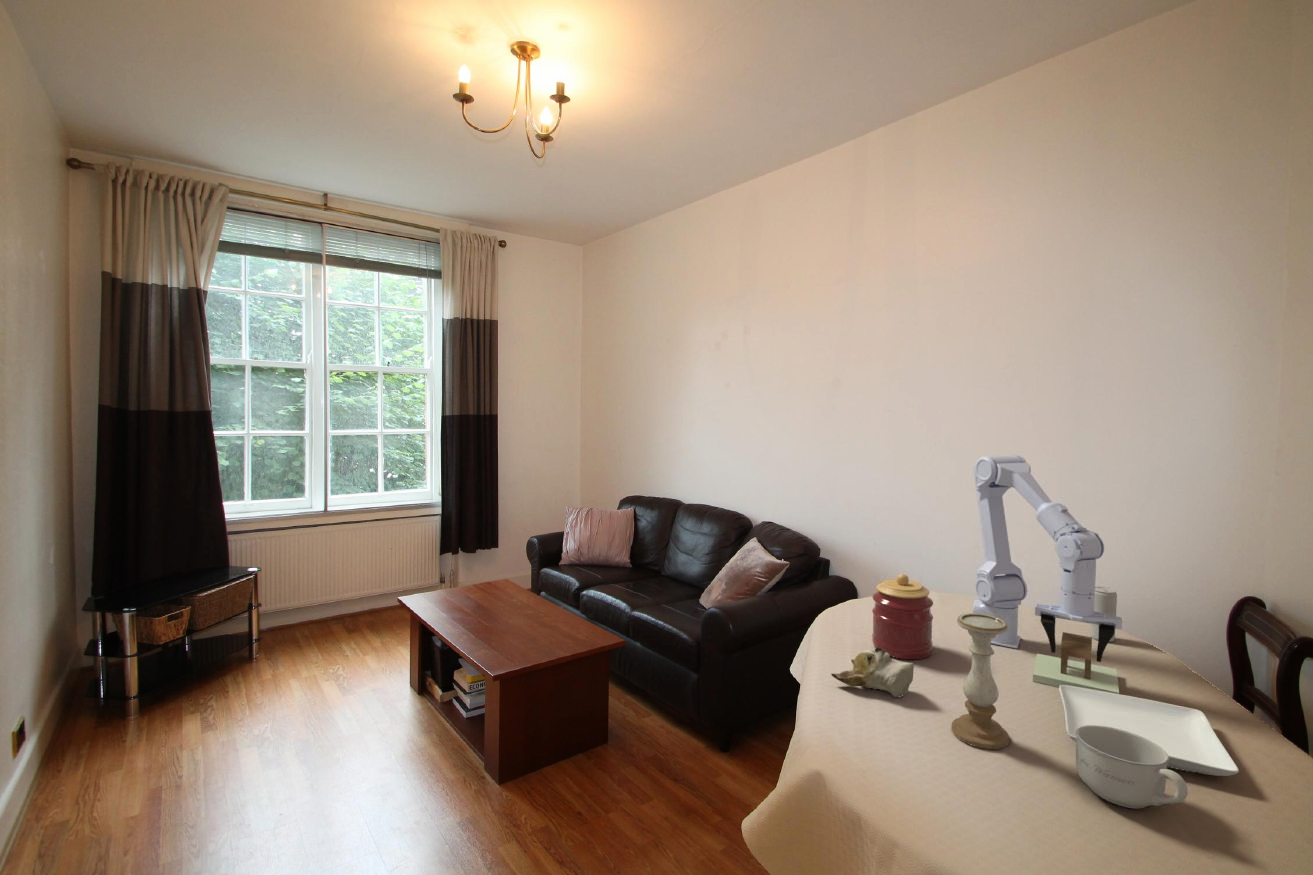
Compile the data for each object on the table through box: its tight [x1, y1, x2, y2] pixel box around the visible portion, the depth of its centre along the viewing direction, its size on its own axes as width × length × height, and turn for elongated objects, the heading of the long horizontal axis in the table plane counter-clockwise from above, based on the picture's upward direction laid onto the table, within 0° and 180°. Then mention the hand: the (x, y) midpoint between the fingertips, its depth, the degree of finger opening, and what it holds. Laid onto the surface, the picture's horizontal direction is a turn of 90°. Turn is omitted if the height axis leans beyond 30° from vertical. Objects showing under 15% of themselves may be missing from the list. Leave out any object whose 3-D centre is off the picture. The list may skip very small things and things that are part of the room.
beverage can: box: [1089, 586, 1118, 643], centre depth 144 cm, size 5×5×12 cm
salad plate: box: [1058, 685, 1240, 777], centre depth 103 cm, size 21×21×3 cm
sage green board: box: [1032, 653, 1120, 694], centre depth 125 cm, size 14×12×2 cm
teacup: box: [1075, 725, 1189, 809], centre depth 87 cm, size 14×11×8 cm
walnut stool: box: [1060, 631, 1093, 680], centre depth 124 cm, size 5×5×7 cm
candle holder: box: [950, 612, 1010, 750], centre depth 104 cm, size 9×9×20 cm
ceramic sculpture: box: [831, 647, 915, 698], centre depth 122 cm, size 11×9×15 cm
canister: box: [871, 573, 934, 660], centre depth 140 cm, size 13×13×18 cm
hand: (1075, 655), depth 125 cm, fingers open, 7 cm apart
